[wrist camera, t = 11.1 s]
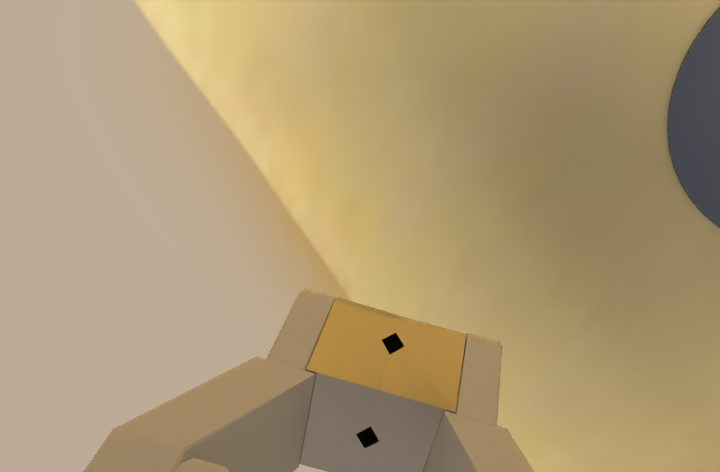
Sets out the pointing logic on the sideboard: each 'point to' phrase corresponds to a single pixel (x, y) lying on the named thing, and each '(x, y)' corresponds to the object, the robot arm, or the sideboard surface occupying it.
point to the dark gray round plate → (698, 121)
